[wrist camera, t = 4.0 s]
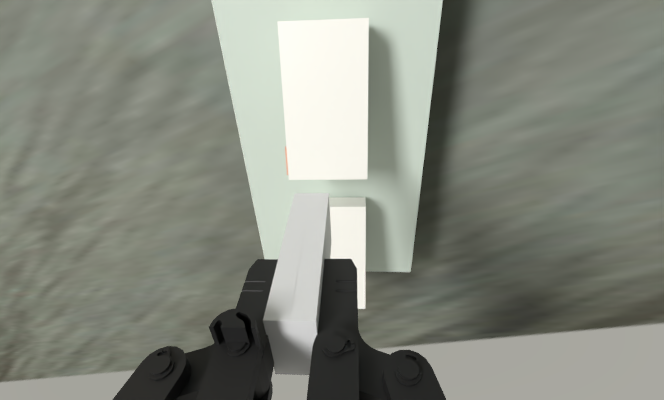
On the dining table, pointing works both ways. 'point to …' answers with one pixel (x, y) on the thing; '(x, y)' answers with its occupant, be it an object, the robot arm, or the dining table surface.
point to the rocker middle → (325, 97)
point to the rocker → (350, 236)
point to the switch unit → (383, 114)
